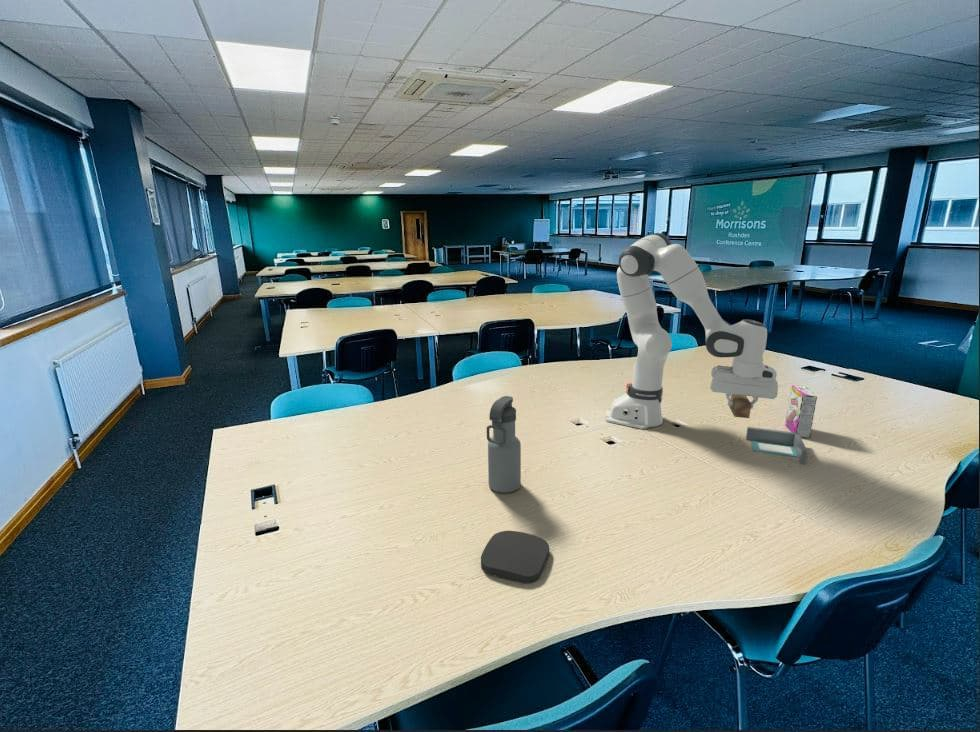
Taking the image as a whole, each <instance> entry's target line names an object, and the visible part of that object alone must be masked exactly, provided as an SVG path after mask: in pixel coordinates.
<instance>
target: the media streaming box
mask: <svg viewBox="0 0 980 732" xmlns="http://www.w3.org/2000/svg"><path fill="white" fill-rule="evenodd" d="M549 556H550V544H549V543H548V542H547V541H546V540H545V538H543V537H541V536H538V535H534V534H531V533H528V532H524V531H518V530H517V531H516V530H503V531H502V530H501V531H498V532H496V533H494V534H493V535H492V536H491V538H489V540H488V542H487V543H486V545H485V547H484V548H483V551H482V553H481V556H480V567H481V569H482V571H483V572H484V573H485V574H487V575H490V576H493V577H497V578H499V579H504V580H509V581H511V582H512V581H513V582H517V583H521V584H532V583H535V582H537V581H538V580H539V579H540V578H541V576H542V574H543V571H544V569H545V568H546V564H547V563H548V559H549Z"/></svg>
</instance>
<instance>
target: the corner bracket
mask: <svg viewBox="0 0 980 732" xmlns="http://www.w3.org/2000/svg"><path fill="white" fill-rule="evenodd" d="M745 435H746V436H745V440H746V441H751V442H750V443H751V447H752V450H753V452H757V453H765V454H769V455H770V454H773V455H778V456H779V455H780V456H786V457H792V458H797V461H798V462H799V465H806V463H807V456H808V449H807V448H806V446H805V443H804V442H803V439H802V437H800V435H799V433H794V432H791V431H784V430H777V429H769V428H762V427H761V428H760V427H753V426H747V428H746V434H745Z"/></svg>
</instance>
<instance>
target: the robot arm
mask: <svg viewBox="0 0 980 732" xmlns="http://www.w3.org/2000/svg"><path fill="white" fill-rule="evenodd" d="M654 271H655V272H657V273H658V274H660V275H661V277H662V278H663V281H664V282H665V283H666V285H667V287H668V288H669V290H670V291H671V293H672V294H673V295H674V296H675V297H676V299H677V300H678V301H680V302H682V303H684V304H687V305H688V306H690V307H691V309H692V310H693V311H694V313H695V314H696V316H697V317H698V319H699V321H700V322H701V324H702V326H703V328H704V334H705V335H704V337H705V348H706V351H707V352H708V353H709V354H710V355H711V356H713V357H715V358H733V359H732V365H731V366H728V365H717V366H714V367H712V369H711V381H710V386H709V388H710V390H711V392H713V393H719V394H720V393H721V394H725V397H726V400H727V406H728V407H729V406H733V400H731V394H735V395H743V396H746V397H752V400H751V401H750V403H751V410H753V409H754V405H755V404H756V403H757V402H758V401H759V398H760V399H770V400H775V399H776V398H777V396H778V393H779V392H778V389H779V384H778V380H777V379H776V378H777V377H778V374H777V373H778V372H777V371H776V369H775V368H774V367H771V366H769V365H767V364H763V363H764V358H763V356H764V354H765V353H764V352H765V350H766V347H767V342H768V341H767V339H768V329H767V327H766V325H765V324H764V323H762V322H760V321H757V320H754V319H747V318H746V319H742V320H741V321H739V322H736V323H734V324H731V323H729V322H728V321H727V320H725V319H723V318H722V316H721V315H720V313H719V312H718V310H717V308H716V307H715V305H714V304H713V301H712V300H711V299H710V296H709V292H708V288H707V283H706V281H705V279H704V278H705V277H704V275H703V273H702V271H701V268H699V266H698V263H696V261H695V259H694V258H693V257H692V255H691V254H690V252H688V251H687V249H686V248H685V247H684V246H683V245H681V244H679V243H674V244H673V243H671V240H670V238H669V237H668V236H667V235H665V234H664V233H660V232H655V233H650V234H648V235H646V236H644V237H642V238H639V239H638V240H636V241H635V242H634V243H632V244H630V245H629V246H627V247H626V248H625V249H623V251H622V252H621V253H620V255H619V257H618V268H617V271H616V281H617V284H618V290H619V293H620V297H621V300H622V303H623V306H624V309H625V312H626V315H627V323H628V325H629V326H628V327H629V331H630V335H631V338H632V341H633V343H634V344H635V345H636V346H637V350H638V351H637V357H636V361H635V363H634V365H633V369H632V381H631V382H627V383H626V391H625V393H623V395H621V396H618V397H616V398H615V399H614V400H613V401H612V404H611V405H610V408H608V409H607V410H606V411H604V412H605V413H604V417H603V418H604V420H605V421H606V422H608V423H611V424H617V425H621V426H627V427H630V428H636V429H640V430H645V429H648V428H653V427H659V426H661V425H662V424H663V423H664V419H663V416H662V400H663V395H664V394H663V393H664V390H663V378H664V370H665V369H664V368H665V364H666V361H667V358H668V355H669V353H670V352H671V350H672V347H673V342H672V339H671V336H670V334H669V332H668V331H667V330H665V329H664V328H662V326H661V324H660V322H659V318H658V317H659V316H658V310H657V309H658V305H657V302H656V298H655V296H654V295H655V294H654V291H653V289H652V286H651V282H650V279H649V275H651V274H652V273H653V272H654Z"/></svg>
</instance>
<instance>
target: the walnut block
mask: <svg viewBox="0 0 980 732" xmlns="http://www.w3.org/2000/svg"><path fill="white" fill-rule="evenodd" d="M730 400H733V406H728V407H729V409H730V410H731V413H732V415H733V417H735V418H741V419H742V418H743V419H750V415H751V410H752V409H751V403H750V402H751V401H750V400H749V398H748V396H743V395H735V394H731V396H730Z"/></svg>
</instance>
